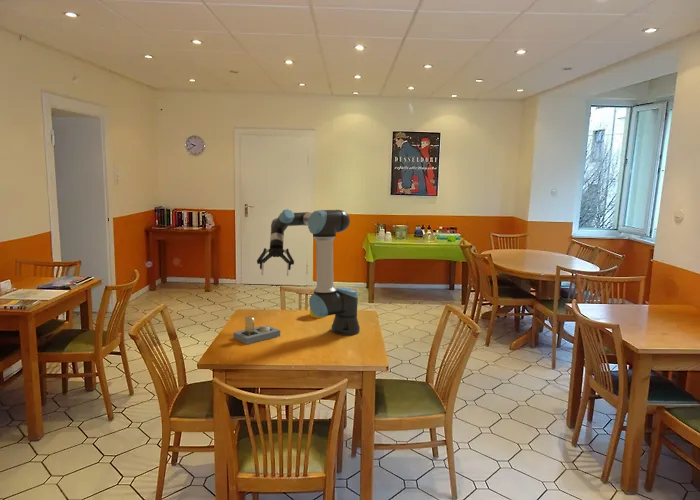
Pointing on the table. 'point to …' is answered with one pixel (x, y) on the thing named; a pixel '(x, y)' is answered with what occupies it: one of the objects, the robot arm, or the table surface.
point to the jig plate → (256, 335)
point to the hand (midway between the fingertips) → (274, 274)
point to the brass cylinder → (249, 325)
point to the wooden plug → (264, 328)
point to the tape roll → (314, 314)
